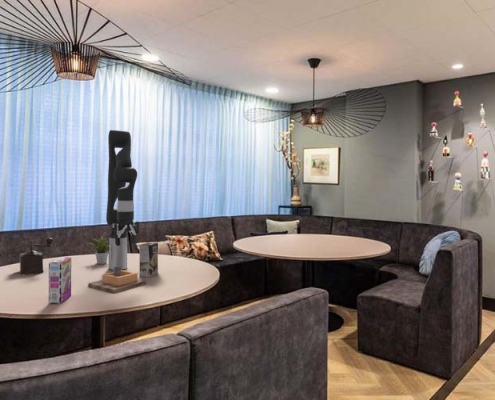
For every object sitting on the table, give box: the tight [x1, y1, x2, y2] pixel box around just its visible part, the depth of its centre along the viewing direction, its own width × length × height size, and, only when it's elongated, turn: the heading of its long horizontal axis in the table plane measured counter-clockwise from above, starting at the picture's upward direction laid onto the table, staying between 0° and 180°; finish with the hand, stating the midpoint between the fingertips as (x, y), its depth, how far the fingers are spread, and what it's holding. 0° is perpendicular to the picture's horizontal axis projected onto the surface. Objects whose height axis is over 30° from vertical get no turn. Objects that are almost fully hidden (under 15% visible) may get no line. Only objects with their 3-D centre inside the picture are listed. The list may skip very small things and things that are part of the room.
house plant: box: [88, 235, 110, 265], centre depth 224 cm, size 14×14×16 cm
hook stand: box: [87, 266, 147, 294], centre depth 176 cm, size 18×18×9 cm
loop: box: [102, 269, 139, 286], centre depth 177 cm, size 11×11×4 cm
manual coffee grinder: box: [19, 237, 54, 275], centre depth 200 cm, size 16×11×18 cm
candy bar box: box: [48, 256, 72, 305], centre depth 154 cm, size 11×5×16 cm, turn 5°
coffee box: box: [138, 242, 159, 278], centre depth 196 cm, size 9×6×16 cm
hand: (125, 244), depth 179 cm, fingers open, 8 cm apart
